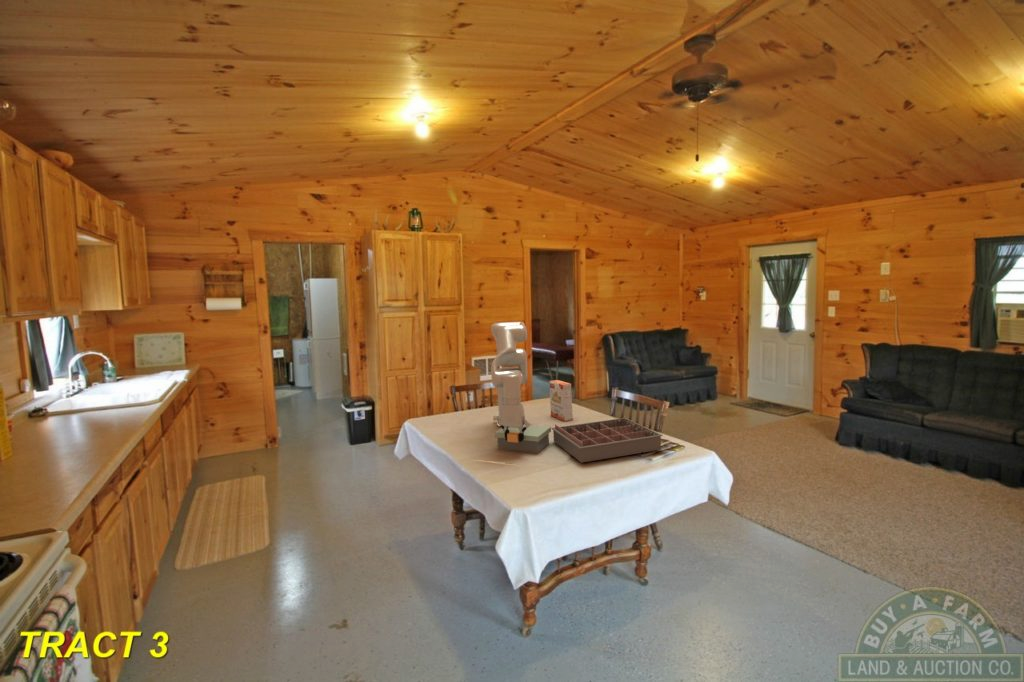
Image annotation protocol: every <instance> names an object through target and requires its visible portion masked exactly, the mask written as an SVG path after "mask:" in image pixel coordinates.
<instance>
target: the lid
mask: <svg viewBox="0 0 1024 682" xmlns="http://www.w3.org/2000/svg"><path fill="white" fill-rule="evenodd" d="M523 427H525V424H524V425H523ZM551 428H552V426H546V425H535V424H534V425H533V424H530V426H529V427H528V428H527V429H526V430H525V431H524V439H523V440H527V441H537V442H539V441H540V440H541V439H542V438H544V437H545V436H546V435H547V434H549V435H550V433H551V432H552V429H551ZM508 430H509V433H508V434H507V441H508V442H516V443H518V442H519V433H520V431H519V429H518V428H515V427H509V428H508ZM494 437H495V438H497V439H498V438H505V433H504V431H503V429H502V428H501V427H500V428H499V429H498V430H496V431H495V432H494Z"/></svg>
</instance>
